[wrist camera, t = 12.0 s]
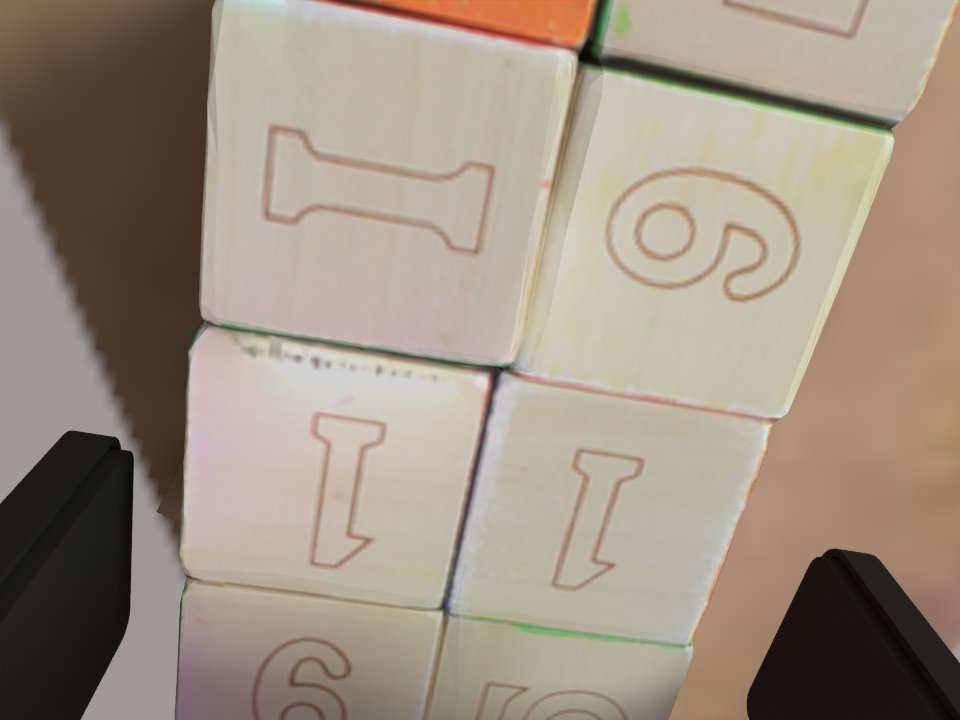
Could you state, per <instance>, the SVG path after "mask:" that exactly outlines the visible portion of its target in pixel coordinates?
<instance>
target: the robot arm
mask: <svg viewBox="0 0 960 720" xmlns="http://www.w3.org/2000/svg"><path fill="white" fill-rule="evenodd" d="M133 475H134V457H133V453H132V452H131V451H127V450H121V445H120V442H119V440H118V439H117V438H116V437H111V436H105V435H98V434H92V433H84V432H78V431H68V432H66V433H65V434H64V435H63V436H62V437H61V438H60V439H59V440H58V441H57V442H56V443H55V445H54V446H53V447H52V448H51V449H50V450H49V451H48V452H47V453H46V454H45V455H44V457H43V458H42V459H41V460H40V461H39V462H38V463H37V464H36V465H35V466H34V467H33V469H32V470H31V471H30V472H29V473H28V474H27V475H26V476H25V478H23V480H22V481H21V482H20V483H19V484H18V485H17V486H16V487H15V488H14V490H13V491H12V492H11V493H10V494H9V495H8V496H7V497H6V498H5V499H4V500H3V501H2V503H1V504H0V720H81V718H82V716H83V714H84V712H85V710H86V708H87V706H88V704H89V702H90V701H91V698H92V697H93V695H94V693H95V691H96V689H97V687H98V685H99V683H100V681H101V679H102V678H103V676H104V674H105V672H106V670H107V668H108V666H109V664H110V662H111V660H112V658H113V657H114V655H115V653H116V651H117V649H118V647H119V645H120V643H121V641H122V639H123V637H124V634H125V631H126V628H127V624H128V621H129V615H130V594H131V552H132V515H133V513H132V512H133ZM747 712H748V717H749V720H960V663H959V662H958V660H957V659H956V658H955V656H954V655H953V654H952V652H951V651H950V650H949V649H948V647H947V646H946V645H945V643H944V642H943V641H942V640H941V638H940V637H939V636H938V634H937V633H936V632H935V631H934V629H933V628H932V627H931V625H930V624H929V623H928V622H927V620H926V619H925V618H924V616H923V615H922V614H921V613H920V611H919V610H918V609H917V607H916V606H915V605H914V604H913V602H912V601H911V600H910V598H909V597H908V596H907V595H906V593H905V592H904V591H903V589H902V588H901V587H900V586H899V584H898V583H897V582H896V580H895V579H894V578H893V577H892V575H891V574H890V573H889V571H888V570H887V569H886V568H885V566H884V565H883V564H882V562H881V561H880V560H879V559H878V558H877V557H875V556H874V555H871V554H866V553H860V552H854V551H847V550H841V549H829V550H828V551H826V552H825V553H824V554H823V556H822V557H816V558H815V559H814V560H812V562H811V563H810V565H809V567H808V569H807V571H806V573H805V575H804V577H803V580H802V582H801V584H800V586H799V588H798V590H797V592H796V594H795V596H794V598H793V600H792V602H791V604H790V607H789V609H788V611H787V613H786V615H785V617H784V619H783V621H782V623H781V625H780V627H779V629H778V631H777V634H776V636H775V638H774V640H773V642H772V644H771V646H770V648H769V650H768V652H767V654H766V656H765V658H764V661H763V663H762V665H761V667H760V669H759V671H758V673H757V675H756V677H755V679H754V681H753V683H752V685H751V688H750V690H749V693H748V696H747Z"/></svg>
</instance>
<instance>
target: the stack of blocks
mask: <svg viewBox="0 0 960 720" xmlns="http://www.w3.org/2000/svg"><path fill="white" fill-rule="evenodd" d="M959 4H960V0H215V2H214V5H213V8H212V25H211V51H210V68H209V84H208V100H207V136H206V154H205V173H204V191H203V210H202V233H201V260H200V288H199V307H200V311H201V316H202V318H203V319H204V321H203V322H202V323H201V325H200V326H199V327H198V328H197V330H196V331H195V332H194V335H193V338H192V341H191V344H190V347H189V351H188V376H187V385H186V429H185V445H184V460H183V487H182V511H181V533H180V553H179V555H180V563H181V567H182V569H183V571H184V573H185V575H186V577H187V579H186V583H185V587H184V590H183V594H182V598H181V602H180V620H179V645H178V668H177V687H176V704H175V720H668V718H669V715H670V713H671V711H672V708H673V706H674V703H675V701H676V698H677V695H678V693H679V690H680V687H681V685H682V682H683V680H684V677H685V674H686V672H687V669H688V666H689V664H690V661H691V658H692V656H693V646H692V639H693V637H694V635H695V633H696V630H697V628H698V626H699V624H700V622H701V619H702V617H703V615H704V613H705V611H706V608H707V606H708V604H709V602H710V599H711V597H712V594H713V591H714V589H715V586H716V583H717V581H718V578H719V575H720V573H721V570H722V567H723V565H724V562H725V560H726V557H727V554H728V552H729V549H730V546H731V542H732V539H733V536H734V532H735V529H736V526H737V524H738V522H739V520H740V518H741V516H742V514H743V511H744V509H745V507H746V505H747V502H748V500H749V497H750V495H751V492H752V490H753V487H754V485H755V482H756V479H757V477H758V474H759V471H760V468H761V465H762V463H763V460H764V457H765V454H766V451H767V448H768V444H769V439H770V434H771V429H772V424H773V423H774V422H776V421H777V420H779V419H780V418H781V417H783V416H784V415H786V414H787V413H788V411H789V409H790V406H791V404H792V402H793V399H794V397H795V395H796V392H797V390H798V387H799V385H800V383H801V380H802V378H803V375H804V373H805V371H806V368H807V366H808V363H809V361H810V358H811V356H812V353H813V351H814V348H815V346H816V343H817V341H818V339H819V336H820V334H821V331H822V329H823V326H824V324H825V321H826V319H827V316H828V314H829V311H830V309H831V306H832V304H833V301H834V299H835V296H836V294H837V292H838V289H839V287H840V284H841V282H842V279H843V277H844V274H845V272H846V269H847V266H848V264H849V261H850V259H851V256H852V254H853V251H854V249H855V246H856V243H857V241H858V238H859V236H860V233H861V231H862V228H863V226H864V223H865V220H866V218H867V215H868V213H869V210H870V208H871V205H872V203H873V200H874V197H875V195H876V192H877V190H878V187H879V185H880V182H881V180H882V177H883V174H884V172H885V169H886V167H887V164H888V162H889V160H890V157H891V153H892V149H893V145H894V138H893V134H892V130H891V128H893V127H894V126H895V125H896V124H898V123H899V122H900V121H902V120H903V119H904V118H905V117H906V116H907V115H908V114H909V112H910V111H911V110H912V109H913V108H914V106H915V105H916V104H917V103H918V102H919V100H920V98H921V96H922V93H923V91H924V88H925V86H926V84H927V81H928V79H929V76H930V74H931V71H932V69H933V67H934V64H935V62H936V59H937V57H938V54H939V52H940V50H941V47H942V45H943V42H944V40H945V38H946V35H947V33H948V30H949V28H950V25H951V23H952V21H953V18H954V16H955V13H956V11H957V9H958V6H959Z"/></svg>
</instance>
